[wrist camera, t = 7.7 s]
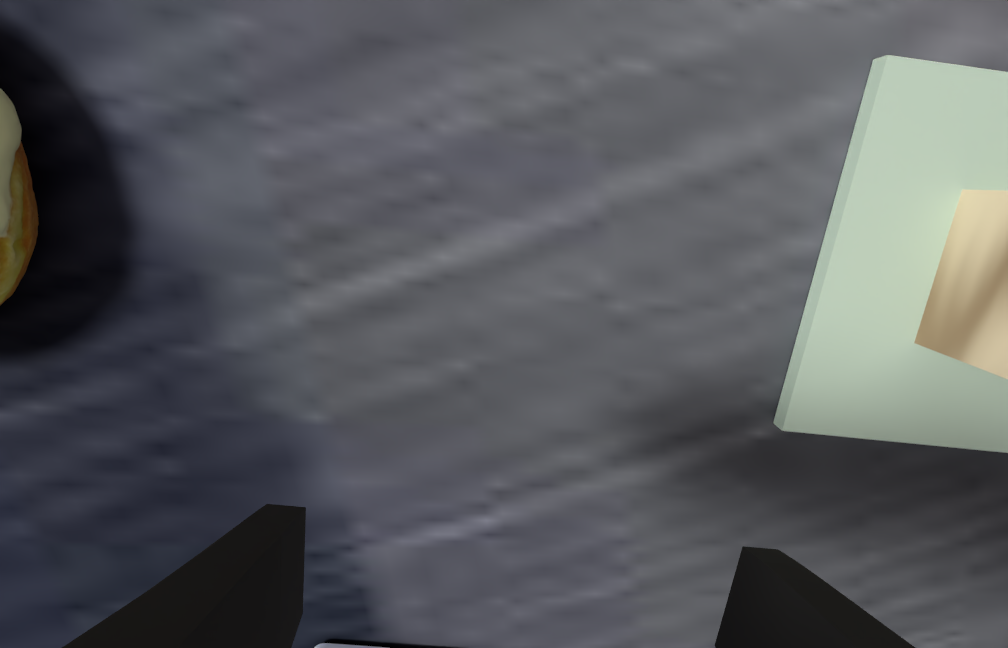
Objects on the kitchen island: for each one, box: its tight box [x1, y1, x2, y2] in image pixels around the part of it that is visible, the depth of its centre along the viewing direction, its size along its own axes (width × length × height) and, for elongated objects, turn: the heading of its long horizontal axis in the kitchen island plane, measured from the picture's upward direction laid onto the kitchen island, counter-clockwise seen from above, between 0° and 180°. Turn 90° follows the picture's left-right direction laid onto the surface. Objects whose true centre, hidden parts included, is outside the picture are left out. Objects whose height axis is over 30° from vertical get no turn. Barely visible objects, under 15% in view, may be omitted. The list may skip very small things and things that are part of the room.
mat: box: [773, 55, 1008, 453], centre depth 18 cm, size 12×12×1 cm
